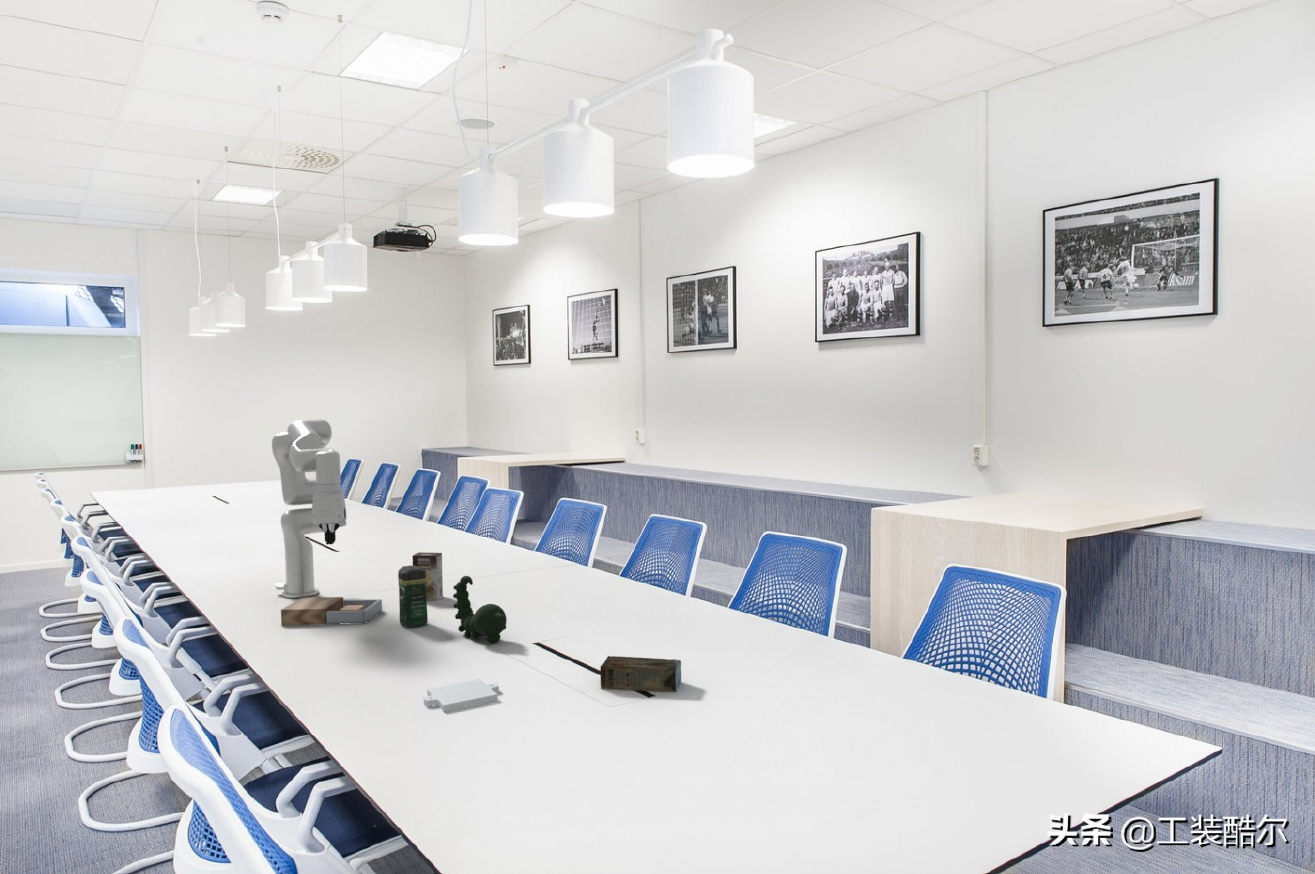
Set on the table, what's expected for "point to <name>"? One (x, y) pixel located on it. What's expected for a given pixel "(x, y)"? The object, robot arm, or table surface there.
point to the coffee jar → (412, 596)
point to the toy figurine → (478, 615)
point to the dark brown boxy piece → (640, 674)
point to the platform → (310, 610)
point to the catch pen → (355, 612)
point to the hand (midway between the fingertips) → (330, 543)
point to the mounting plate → (461, 694)
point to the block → (353, 608)
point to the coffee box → (431, 573)
